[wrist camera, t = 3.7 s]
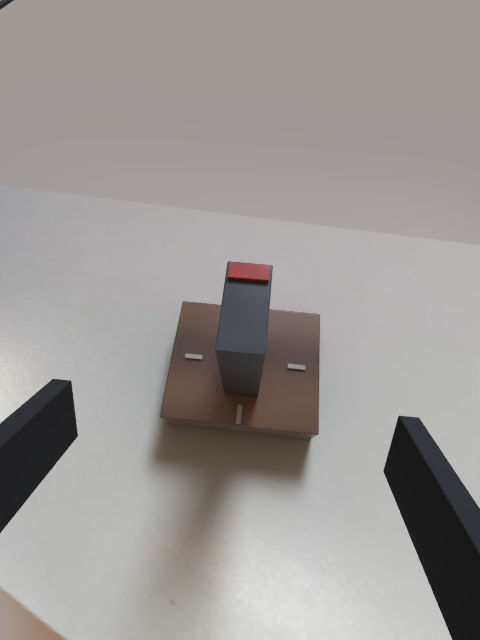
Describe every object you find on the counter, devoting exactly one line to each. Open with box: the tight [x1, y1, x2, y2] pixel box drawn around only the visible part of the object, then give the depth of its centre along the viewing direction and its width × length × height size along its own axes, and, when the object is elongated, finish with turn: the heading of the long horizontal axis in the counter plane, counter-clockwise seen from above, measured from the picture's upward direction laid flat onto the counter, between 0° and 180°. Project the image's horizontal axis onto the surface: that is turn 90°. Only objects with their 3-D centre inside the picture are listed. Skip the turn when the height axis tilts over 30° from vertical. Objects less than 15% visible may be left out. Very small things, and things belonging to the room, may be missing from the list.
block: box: [215, 262, 273, 397], centre depth 23 cm, size 6×3×10 cm, turn 174°
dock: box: [160, 301, 320, 439], centre depth 29 cm, size 10×12×3 cm
